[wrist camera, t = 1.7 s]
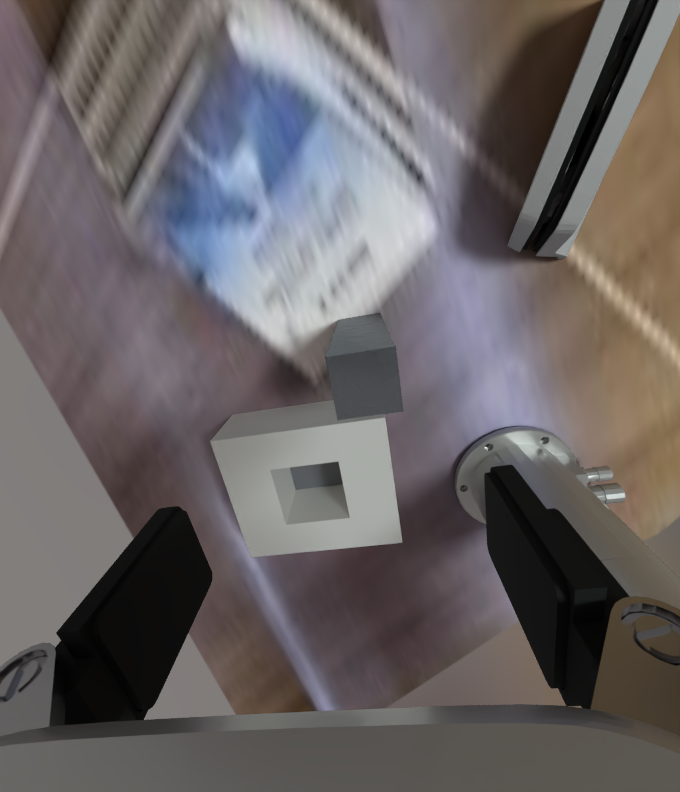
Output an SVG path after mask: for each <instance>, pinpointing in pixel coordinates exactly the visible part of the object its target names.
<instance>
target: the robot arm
mask: <svg viewBox="0 0 680 792" xmlns="http://www.w3.org/2000/svg"><path fill="white" fill-rule="evenodd" d="M612 479H613V472H612V470H611V469H610V468H609V467H608V466H602V467H593V468H591V469H584V468H583V467H579V466H578V465H577V462H576V459H575V456H574V454H573V453H572V451H571V450H570V448H569V447H568V446H567V445H566V444H565V443H564V442H563V441H562V440H561V439H559V438H558V437H557V436H555V435H554V434H552V433H550V432H548V431H545V430H543V429H539V428H535V427H526V426H517V427H509V428H505V429H501V430H498V431H495V432H493V433H491V434H489V435H486V436H484V437H483V438H481V439H480V440H479V441H477V442H476V443H474V444H473V445H472V446H471V447H470V448H469V449H468V450H467V451H466V453H465V454H464V455H463V457H462V458H461V460H460V462H459V464H458V466H457V469H456V473H455V490H456V494H457V497H458V499H459V501H460V504H461V505H462V507H463V508H464V510H465V511H466V512H467V513H468V514H469V515H470V516H471V517H473V518H474V519H476V520H477V521H479V522H481V523H483V524H486V528H487V546H488V551H489V554H490V557H491V559H492V561H493V564H494V566H495V568H496V570H497V573H498V575H499V577H500V579H501V581H502V584H503V586H504V588H505V590H506V593H507V595H508V597H509V599H510V601H511V604H512V606H513V608H514V610H515V613H516V615H517V617H518V619H519V621H520V624H521V626H522V628H523V630H524V633H525V635H526V637H527V639H528V641H529V644H530V646H531V648H532V650H533V653H534V655H535V657H536V659H537V661H538V663H539V666H540V668H541V670H542V672H543V675H544V677H545V679H546V681H547V683H548V685H549V686H550V687H551V688H558V689H559V691H560V693H561V695H562V698H563V700H564V702H565V704H566V706H554V705H524V704H515V705H467V706H432V707H406V708H382V709H358V710H334V711H312V712H291V713H270V714H249V715H230V716H209V717H191V718H171V719H155V720H144V718H145V716H146V713H147V711H148V709H150V708H152V707H153V705H154V704H155V703H156V701H157V699H158V697H159V694H160V692H161V690H162V688H163V686H164V684H165V681H166V679H167V677H168V675H169V673H170V671H171V669H172V666H173V664H174V662H175V660H176V658H177V656H178V653H179V652H180V649H181V647H182V645H183V643H184V641H185V639H186V636H187V634H188V632H189V630H190V628H191V626H192V624H193V622H194V619H195V617H196V615H197V613H198V611H199V609H200V607H201V604H202V602H203V600H204V598H205V596H206V594H207V592H208V589H209V587H210V585H211V582H212V571H211V569H210V566H209V564H208V561H207V559H206V557H205V554H204V552H203V550H202V547H201V545H200V543H199V540H198V538H197V535H196V533H195V531H194V528H193V526H192V524H191V521H190V519H189V517H188V514H187V512H186V511H184V510H182V509H181V508H180V507H177V506H176V507H168V508H161V509H159V510H158V511H156V513H155V514H154V515H153V516H152V517H151V519H150V520H149V521H148V522H147V524H146V525H145V526H144V527H143V528H142V530H141V531H140V532H139V533H138V534H137V536H136V537H135V538H134V539H133V541H132V542H131V543H130V544H129V545H128V547H127V548H126V549H125V550H124V552H123V553H122V554H121V555H120V556H119V558H118V559H117V560H116V561H115V562H114V564H113V565H112V566H111V567H110V568H109V570H108V571H107V572H106V573H105V575H104V576H103V577H102V578H101V579H100V580H99V582H98V583H97V584H96V585H95V587H94V588H93V589H92V590H91V592H90V593H89V594H88V595H87V596H86V597H85V599H84V600H83V601H82V602H81V603H80V605H79V606H78V607H77V608H76V610H75V611H74V612H73V613H72V614H71V616H70V617H69V618H68V619H67V621H66V622H65V623H64V624H63V625H62V627H61V628H60V629H59V630H58V632H57V635H58V636H59V638H60V639H61V642H60V643H59V644H58V645H57V646H56V648H55V646H53V645H52V644H51V643H41V644H37V645H34V646H31V647H29V648H28V649H25V650H23V651H21V652H20V653H18V654H17V655H15V656H14V657H12V658H11V659H9V660H8V661H7V662H6V663H5V664H4V665H2V666H1V667H0V792H680V576H679V575H678V574H677V573H676V572H675V571H674V570H672V569H671V568H670V567H669V566H668V565H667V564H666V563H665V562H664V561H663V560H662V559H661V558H660V557H659V556H658V555H657V554H656V553H655V552H654V551H653V550H652V549H651V548H650V547H649V546H648V545H647V544H646V543H645V542H644V541H643V540H642V539H641V538H640V537H638V536H637V535H636V534H635V533H634V532H633V531H632V530H631V529H630V528H629V527H628V526H627V525H626V524H625V523H624V522H623V521H622V520H621V519H620V518H619V517H618V516H617V515H616V514H615V513H614V512H613V511H612V510H611V509H610V508H609V507H608V506H606V505H605V504H611V503H621V502H624V501H625V492H624V490H623V488H622V487H621V486H620V485H619V484H617V483H610V484H601V485H596V486H590V487H587V485H588V483H589V482H591V481H606V480H612ZM568 706H581V707H582V708H575V707H568Z"/></svg>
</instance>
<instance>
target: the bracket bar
mask: <svg viewBox="0 0 680 792" xmlns="http://www.w3.org/2000/svg"><path fill="white" fill-rule="evenodd" d="M325 358H326V363H327V369H328V374H329V379H330V384H331V389H332V394H333V399H334V404H335V410H336V415H337V420H344V419H351V418H358V417H365V416H373V415H380V414H387V413H394V412H402V411H403V404H402V396H401V387H400V379H399V370H398V362H397V353H396V346H395V344H394V342H393V339H392V337H391V335H390V333H389V331H388V329H387V326H386V324H385V322H384V320H383V318H382V316H381V313H376V314H370V315H364V316H358V317H353V318H347V319H341V320H338V323H337V325H336V328H335V331H334V334H333V337H332V340H331V343H330V345H329V348H328V351H327V354H326V357H325Z"/></svg>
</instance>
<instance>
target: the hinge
mask: <svg viewBox="0 0 680 792" xmlns="http://www.w3.org/2000/svg"><path fill="white" fill-rule="evenodd" d="M679 13H680V0H604V1H603V3H602V6H601V8H600V11H599V13H598V16H597V18H596V21H595V23H594V26H593V28H592V31H591V34H590V36H589V39H588V41H587V44H586V46H585V49H584V51H583V54H582V56H581V59H580V62H579V64H578V67H577V69H576V72H575V74H574V77H573V79H572V82H571V84H570V87H569V90H568V92H567V95H566V97H565V100H564V102H563V105H562V107H561V110H560V112H559V115H558V118H557V120H556V123H555V125H554V128H553V130H552V133H551V135H550V138H549V140H548V143H547V146H546V148H545V151H544V153H543V156H542V158H541V161H540V163H539V166H538V168H537V171H536V174H535V176H534V179H533V181H532V184H531V186H530V189H529V191H528V194H527V196H526V199H525V202H524V204H523V207H522V209H521V212H520V214H519V217H518V219H517V222H516V224H515V227H514V229H513V232H512V235H511V237H510V240H509V242H508V245H507V246H508V247H510V248H511V249H513V250H515V251H517V252H520V251H521V249H526V250H527V248H528V247H529V245H530V244H531V242H532V240H533V239H534V237H535V236H536V234H537V233H538V231H539V230H540V228H541V227H542V224H543V223H545V225H544V226H543V228H542V229H541V231H540V234H539V236H538V238H537V241H536V243H535V246H534V248H533V250H532V251H535V252H537V254H536V256H545V257H557V259H564V258H566V257H567V255H568V253H569V251H570V249H571V247H572V244H573V242H574V240H575V238H576V236H577V234H578V231H579V229H580V227H581V225H582V223H583V220H584V218H585V216H586V214H587V212H588V210H589V207H590V205H591V203H592V201H593V199H594V196H595V194H596V192H597V190H598V188H599V186H600V183H601V181H602V179H603V177H604V175H605V172H606V170H607V168H608V166H609V164H610V162H611V160H612V158H613V156H614V154H615V152H616V150H617V148H618V146H619V144H620V142H621V139H622V137H623V135H624V133H625V131H626V129H627V127H628V125H629V123H630V121H631V119H632V117H633V114H634V112H635V110H636V108H637V106H638V104H639V102H640V100H641V97H642V95H643V93H644V91H645V89H646V87H647V84H648V82H649V80H650V78H651V76H652V73H653V71H654V69H655V67H656V65H657V62H658V60H659V58H660V56H661V54H662V51H663V49H664V47H665V45H666V43H667V40H668V38H669V36H670V33H671V31H672V29H673V27H674V24H675V22H676V20H677V17H678V15H679ZM624 36H626V37H629V38H628V40H627V41H624V40H623V37H624ZM593 110H594V111H595V113H596V119H595V122H594V124H593V127H592V129H591V131H590V134H589V136H588V138H587V141H586V143H585V145H584V148H583V150H582V152H581V155H580V157H579V159H578V162H577V163H576V164H575V165H574V166H572V167H571V168H568V166H569V164H570V162H571V160H572V157H573V155H574V153H575V150H576V148H577V146H578V143H579V141H580V139H581V136H582V134H583V132H584V129H585V127H586V125H587V122H588V120H589V118H590V115H591V113H592V111H593Z"/></svg>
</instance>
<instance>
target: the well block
mask: <svg viewBox="0 0 680 792" xmlns="http://www.w3.org/2000/svg"><path fill="white" fill-rule="evenodd" d="M210 443H211V446H212V449H213V452H214V454H215V457H216V460H217V463H218V466H219V469H220V472H221V474H222V477H223V480H224V483H225V486H226V489H227V492H228V494H229V497H230V500H231V503H232V506H233V509H234V512H235V514H236V517H237V520H238V523H239V526H240V529H241V532H242V535H243V537H244V540H245V543H246V546H247V549H248V552H249V555H250V557H260V556H270V555H281V554H291V553H301V552H312V551H322V550H332V549H343V548H353V547H364V546H374V545H384V544H395V543H403V542H402V535H401V528H400V521H399V514H398V507H397V499H396V492H395V485H394V478H393V471H392V464H391V456H390V449H389V442H388V435H387V428H386V421H385V414H380V415H373V416H365V417H358V418H351V419H344V420H337V415H336V410H335V404H334V400H328V401H322V402H315V403H308V404H301V405H294V406H287V407H280V408H273V409H266V410H259V411H252V412H245V413H239V414H232V416H231V417H230V418H229V419H228V420H227V422H226V423H225V424H224V425H223V426H222V428H221V429H220V430H219V431H218V432H217V434H216V435H215V436H214V437H213V438H212V440H211V441H210Z"/></svg>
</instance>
